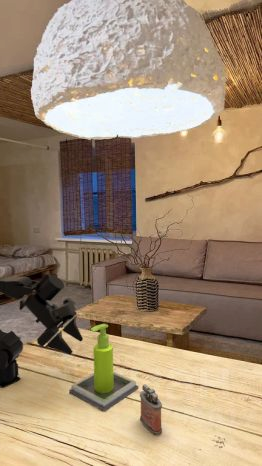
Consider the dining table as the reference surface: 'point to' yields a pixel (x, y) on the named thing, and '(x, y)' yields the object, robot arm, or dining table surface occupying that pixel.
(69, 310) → the robot arm
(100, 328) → the soap dispenser
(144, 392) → the lighter
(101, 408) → the holder
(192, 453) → the dining table surface
